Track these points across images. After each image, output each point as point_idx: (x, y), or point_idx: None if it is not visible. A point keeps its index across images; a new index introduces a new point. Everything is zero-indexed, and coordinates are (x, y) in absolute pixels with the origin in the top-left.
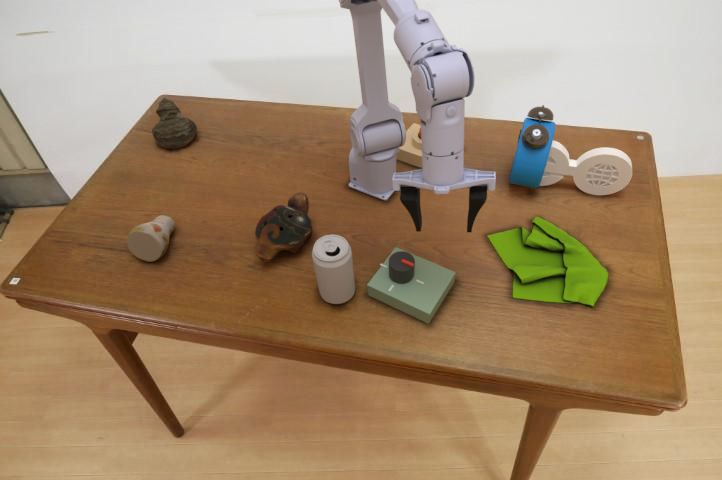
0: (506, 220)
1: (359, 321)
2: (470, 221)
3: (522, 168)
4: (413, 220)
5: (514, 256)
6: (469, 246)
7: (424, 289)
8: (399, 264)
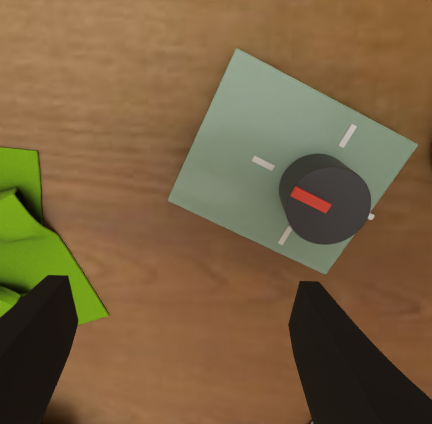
0: (72, 352)
1: (427, 45)
2: (7, 329)
3: None
4: (366, 337)
5: (45, 264)
6: (145, 288)
7: (250, 138)
8: (336, 193)
